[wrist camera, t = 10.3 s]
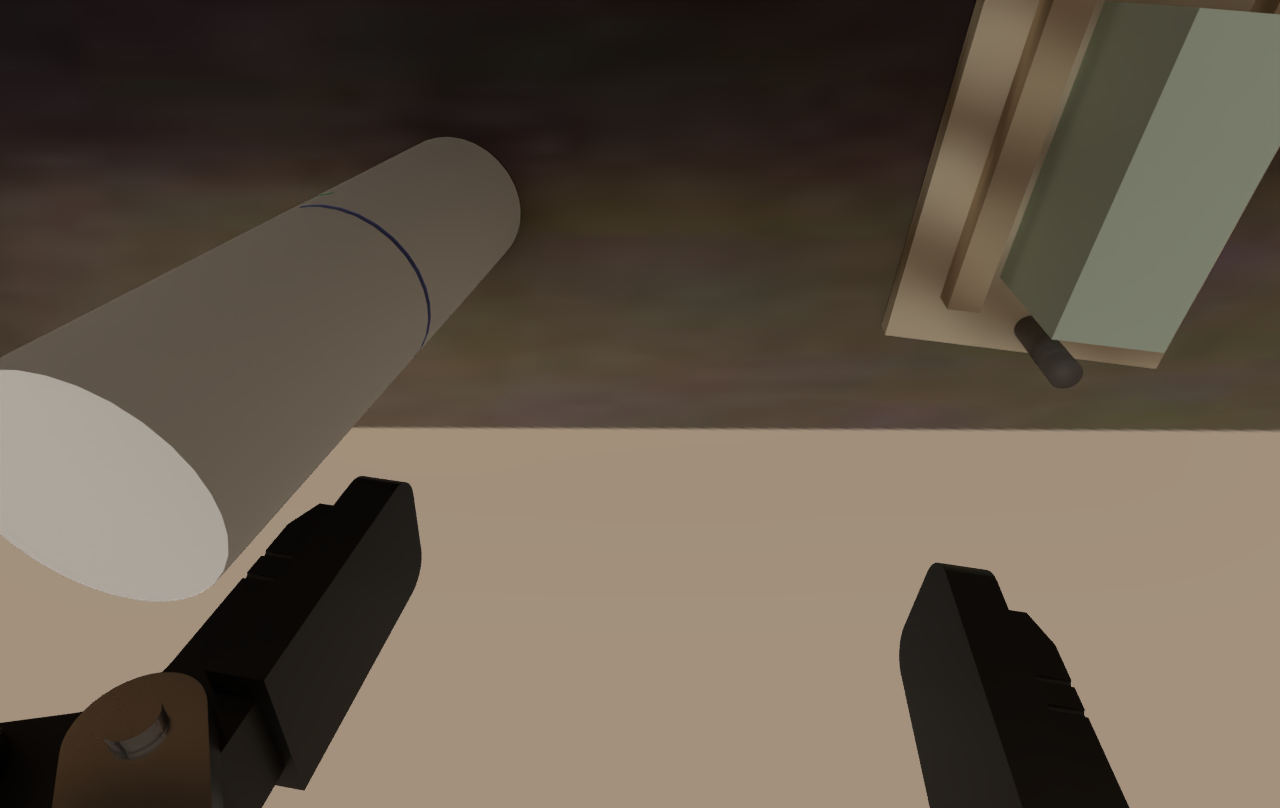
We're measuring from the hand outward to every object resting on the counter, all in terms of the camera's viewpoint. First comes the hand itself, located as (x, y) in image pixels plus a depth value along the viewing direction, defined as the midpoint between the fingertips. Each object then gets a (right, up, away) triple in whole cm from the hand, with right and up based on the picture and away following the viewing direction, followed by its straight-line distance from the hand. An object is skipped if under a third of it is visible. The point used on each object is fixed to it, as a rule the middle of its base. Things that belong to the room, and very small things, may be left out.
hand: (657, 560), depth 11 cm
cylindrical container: (-10, +13, +27) cm, 32 cm away
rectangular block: (+21, +14, +20) cm, 32 cm away
